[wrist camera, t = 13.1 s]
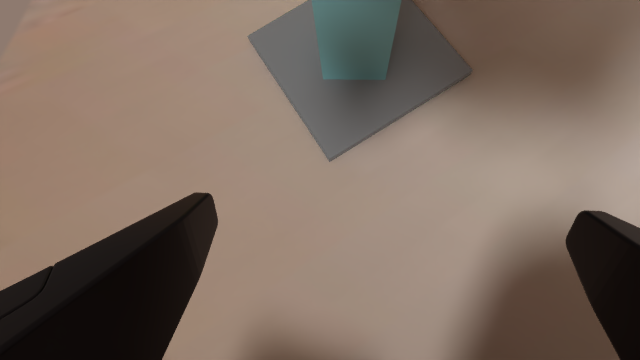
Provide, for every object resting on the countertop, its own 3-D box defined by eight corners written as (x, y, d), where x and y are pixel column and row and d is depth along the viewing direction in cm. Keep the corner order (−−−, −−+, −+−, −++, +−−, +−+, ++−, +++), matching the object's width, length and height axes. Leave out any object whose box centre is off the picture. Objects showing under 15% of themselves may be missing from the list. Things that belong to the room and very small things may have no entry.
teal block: (385, 80, 23) (411, -48, 14) (322, 79, 24) (304, -45, 14) (386, 25, 24) (410, -129, 15) (326, 26, 25) (312, -123, 15)
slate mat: (469, 74, 23) (472, 70, 23) (329, 161, 23) (329, 159, 22) (376, -34, 26) (376, -41, 26) (249, 40, 26) (247, 35, 25)
